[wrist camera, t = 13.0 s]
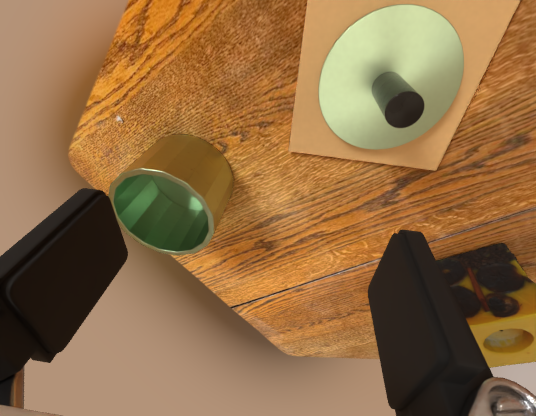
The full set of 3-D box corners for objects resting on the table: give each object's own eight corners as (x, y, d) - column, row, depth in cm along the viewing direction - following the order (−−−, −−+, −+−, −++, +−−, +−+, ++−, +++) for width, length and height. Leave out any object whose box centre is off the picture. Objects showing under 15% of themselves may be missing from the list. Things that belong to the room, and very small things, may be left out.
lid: (309, 137, 30) (306, 172, 24) (332, -3, 23) (337, -3, 17) (424, 151, 29) (452, 192, 23) (487, 11, 22) (552, 16, 16)
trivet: (288, 149, 32) (288, 151, 31) (312, -38, 22) (312, -39, 22) (434, 168, 31) (436, 170, 30) (526, -20, 21) (530, -21, 21)
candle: (438, 304, 44) (465, 372, 36) (417, 263, 39) (442, 330, 31) (517, 287, 39) (568, 360, 31) (504, 239, 35) (558, 310, 27)
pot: (156, 204, 40) (123, 246, 33) (140, 128, 33) (94, 161, 26) (233, 216, 39) (215, 262, 32) (233, 140, 32) (210, 178, 25)
